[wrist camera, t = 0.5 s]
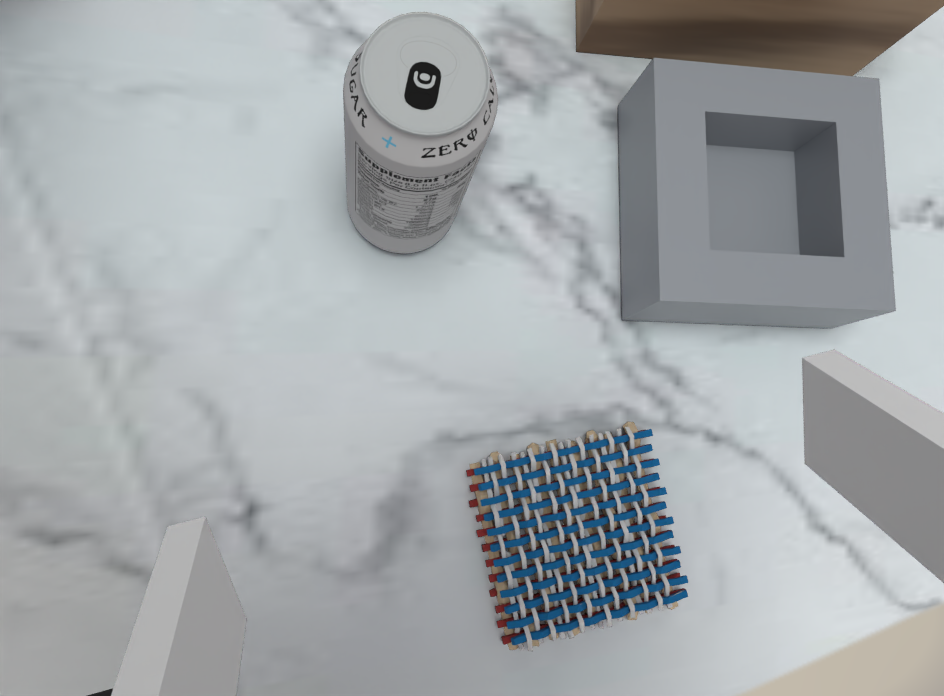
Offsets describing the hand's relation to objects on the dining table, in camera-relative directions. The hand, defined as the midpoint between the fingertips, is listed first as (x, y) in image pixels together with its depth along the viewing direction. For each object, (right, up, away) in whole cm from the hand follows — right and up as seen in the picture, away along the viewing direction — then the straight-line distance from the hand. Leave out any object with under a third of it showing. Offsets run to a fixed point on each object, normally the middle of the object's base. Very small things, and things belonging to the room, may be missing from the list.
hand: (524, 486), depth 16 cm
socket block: (+14, +11, +29) cm, 34 cm away
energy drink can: (-5, +11, +26) cm, 29 cm away
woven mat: (+4, -7, +26) cm, 27 cm away
